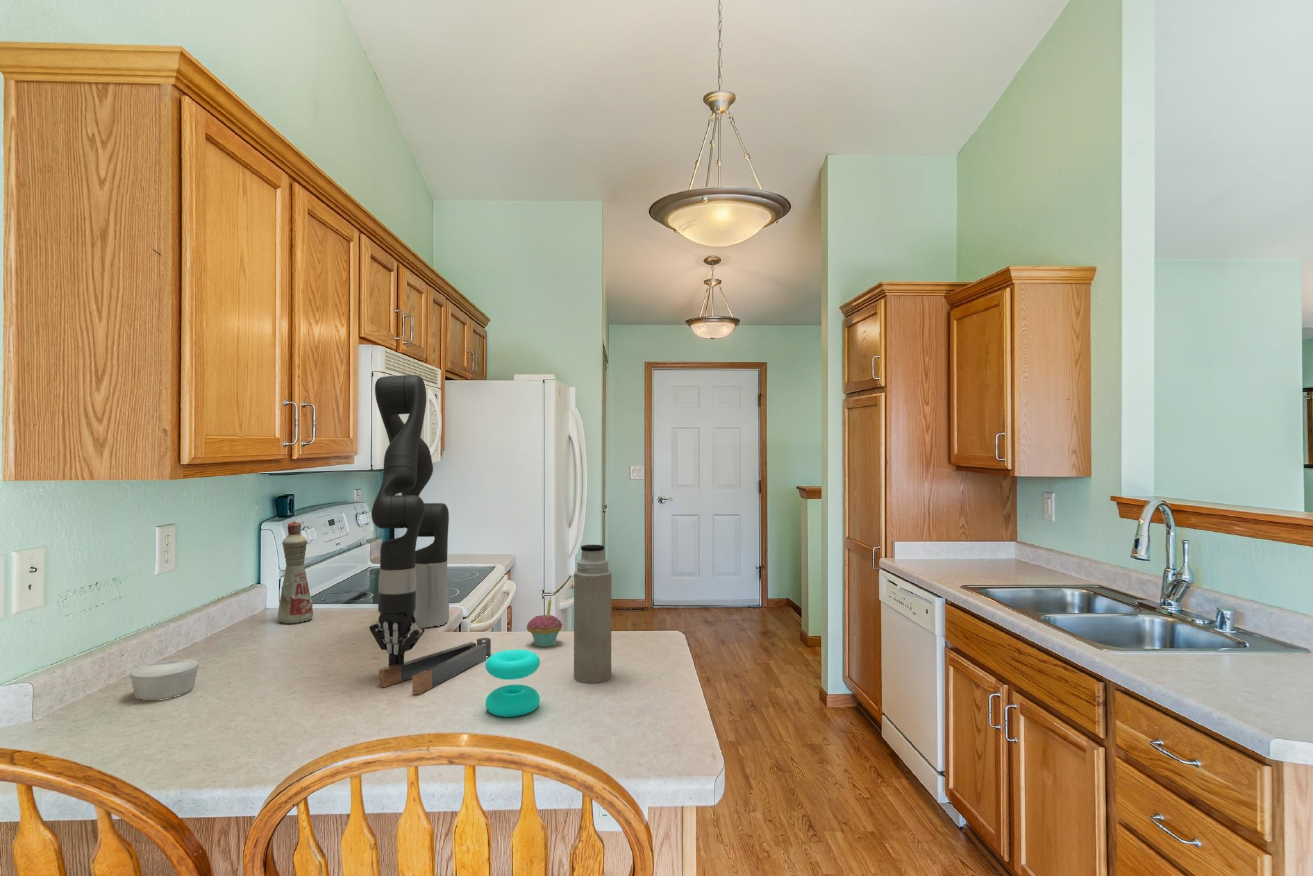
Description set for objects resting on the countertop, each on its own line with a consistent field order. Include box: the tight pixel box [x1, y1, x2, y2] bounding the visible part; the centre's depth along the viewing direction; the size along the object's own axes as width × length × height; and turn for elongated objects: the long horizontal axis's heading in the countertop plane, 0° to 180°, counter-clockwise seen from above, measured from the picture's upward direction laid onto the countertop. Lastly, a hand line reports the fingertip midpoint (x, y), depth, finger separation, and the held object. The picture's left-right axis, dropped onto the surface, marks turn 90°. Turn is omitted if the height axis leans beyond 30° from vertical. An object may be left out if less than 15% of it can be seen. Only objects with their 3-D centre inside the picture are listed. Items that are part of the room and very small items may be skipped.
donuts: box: [485, 649, 541, 718], centre depth 130 cm, size 10×10×10 cm
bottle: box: [277, 520, 314, 624], centre depth 194 cm, size 9×9×28 cm
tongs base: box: [411, 637, 492, 695], centre depth 150 cm, size 28×4×4 cm, turn 161°
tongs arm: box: [378, 641, 477, 688], centre depth 151 cm, size 24×2×3 cm, turn 146°
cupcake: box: [526, 596, 563, 648], centre depth 171 cm, size 9×8×12 cm
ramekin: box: [129, 658, 200, 701], centre depth 138 cm, size 11×11×5 cm
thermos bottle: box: [573, 544, 612, 684], centre depth 147 cm, size 8×8×28 cm
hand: (396, 670), depth 147 cm, fingers closed
